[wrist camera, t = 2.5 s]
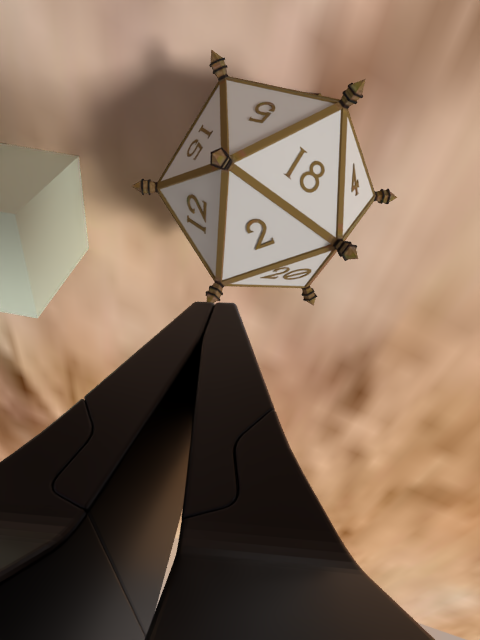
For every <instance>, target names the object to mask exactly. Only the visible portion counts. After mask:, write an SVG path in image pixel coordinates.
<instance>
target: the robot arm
mask: <svg viewBox="0 0 480 640" xmlns="http://www.w3.org/2000/svg"><path fill="white" fill-rule="evenodd" d="M84 399H85V400H84ZM84 399H81V400H80V401H78V402H77V403H76V404H75V405H74V406H73V407H71V408H70V409H69V410H68V411H67V412H66V413H64V414H63V415H62V416H61V417H59V418H58V419H57V420H56V421H55V422H53V423H52V424H51V425H50V426H48V427H47V428H46V429H45V430H43V431H42V432H41V433H39V434H38V435H37V436H35V437H34V438H33V439H31V440H30V441H29V442H27V443H26V444H25V445H23V446H22V447H21V448H19V449H18V450H17V451H15V452H14V453H12V454H11V455H10V456H8V457H7V458H5V459H4V460H3V461H1V462H0V640H435V639H434V638H433V637H432V636H431V635H429V634H428V633H427V632H426V631H425V630H424V629H423V628H422V627H421V626H420V625H419V624H418V623H417V622H416V621H415V620H414V619H413V618H412V617H411V616H410V615H409V614H407V613H406V612H405V611H404V610H403V609H402V608H401V607H400V606H399V605H398V604H397V603H396V602H395V601H394V600H393V599H392V598H391V597H390V596H388V595H387V594H386V593H385V592H384V591H383V590H382V589H381V588H380V587H379V586H378V585H377V584H376V583H375V582H374V581H373V580H372V579H371V578H370V577H369V576H368V575H367V574H366V573H365V572H364V571H363V570H362V569H361V568H360V567H359V565H358V564H357V563H356V561H355V560H354V559H353V557H352V556H351V555H350V553H349V552H348V550H347V548H346V547H345V545H344V544H343V542H342V541H341V539H340V537H339V536H338V534H337V532H336V530H335V529H334V527H333V525H332V523H331V522H330V520H329V518H328V516H327V514H326V513H325V511H324V509H323V507H322V506H321V504H320V502H319V500H318V498H317V497H316V495H315V493H314V491H313V490H312V488H311V486H310V484H309V482H308V481H307V479H306V477H305V475H304V474H303V472H302V470H301V468H300V466H299V464H298V462H297V460H296V458H295V456H294V454H293V452H292V450H291V448H290V446H289V444H288V441H287V439H286V436H285V434H284V432H283V429H282V427H281V424H280V422H279V419H278V416H277V414H276V412H275V409H274V406H273V403H272V401H271V398H270V395H269V393H268V390H267V387H266V384H265V382H264V379H263V376H262V374H261V371H260V368H259V365H258V363H257V360H256V357H255V355H254V352H253V349H252V347H251V344H250V341H249V338H248V336H247V333H246V330H245V328H244V325H243V322H242V319H241V317H240V314H239V311H238V309H237V306H236V304H234V303H216V304H214V303H212V302H195V303H193V304H192V305H191V306H189V307H188V308H187V309H186V310H185V311H184V312H182V313H181V314H180V315H179V316H178V317H177V318H175V319H174V320H173V321H172V322H171V323H170V324H168V325H167V326H166V327H165V328H164V329H163V330H161V331H160V332H159V333H158V334H157V335H156V336H154V337H153V338H152V339H151V340H150V341H149V342H147V343H146V344H145V345H144V346H143V347H142V348H140V349H139V350H138V351H137V352H136V353H135V354H134V355H132V356H131V357H130V358H129V359H128V360H127V361H125V362H124V363H123V364H122V365H121V366H120V367H118V368H117V369H116V370H115V371H114V372H113V373H111V374H110V375H109V376H108V377H107V378H106V379H104V380H103V381H102V382H101V383H100V384H99V385H97V386H96V387H95V388H94V389H93V390H92V391H90V392H89V393H88V394H87V395H86V396H85V397H84ZM182 509H183V511H182ZM181 512H182V523H181V529H180V536H179V542H178V548H177V553H176V556H175V559H174V563H173V565H172V568H171V571H170V573H169V576H168V579H167V581H166V584H165V587H164V590H163V592H162V595H161V597H160V600H159V603H158V605H157V601H158V598H159V594H160V590H161V587H162V583H163V579H164V576H165V572H166V568H167V564H168V561H169V557H170V553H171V549H172V545H173V542H174V538H175V535H176V531H177V527H178V523H179V520H180V516H181ZM156 605H157V608H156ZM155 609H156V611H155Z"/></svg>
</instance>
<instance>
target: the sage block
mask: <svg viewBox="0 0 480 640" xmlns="http://www.w3.org/2000/svg"><path fill="white" fill-rule="evenodd" d="M88 249H89V245H88V236H87V227H86V218H85V208H84V199H83V190H82V180H81V171H80V162H79V156H75V155H69V154H63V153H57V152H51V151H45V150H39V149H33V148H27V147H21V146H15V145H9V144H3V143H0V312H4V313H10V314H16V315H22V316H27V317H33V318H38V317H39V316H40V314H41V313H42V312H43V310H44V309H45V308H46V306H47V305H48V303H49V302H50V301H51V299H52V298H53V297H54V295H55V294H56V293H57V291H58V290H59V288H60V287H61V286H62V284H63V283H64V282H65V280H66V279H67V277H68V276H69V275H70V273H71V272H72V271H73V269H74V268H75V267H76V265H77V264H78V262H79V261H80V260H81V258H82V257H83V256H84V254H85V253H86V252H87V250H88Z"/></svg>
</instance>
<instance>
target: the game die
mask: <svg viewBox="0 0 480 640" xmlns="http://www.w3.org/2000/svg"><path fill="white" fill-rule="evenodd" d="M224 60H225V58H222V57H221V56H219V55H218V54H217V53H215V52H214V51H213V50H211V64H210V67H212V69H213V74H215V75H216V76H217V77H218V81H219V82H218V83H217V85H216V87H215V88H214V90H213V91H212V93H211V95H210V96H209V98H208V100H207V101H206V103H205V105H204V106H203V108H202V110H201V111H200V113H199V115H198V116H197V118H196V120H195V121H194V123H193V125H192V126H191V128H190V130H189V131H188V133H187V134H186V136H185V138H184V139H183V141H182V143H181V144H180V146H179V148H178V149H177V151H176V153H175V154H174V156H173V158H172V159H171V161H170V163H169V164H168V166H167V168H166V169H165V171H164V173H163V174H162V176H161V177H160V179H159V181H158V182H156V183H155V182H152V181H151V180H148V181H146V180H144V179H142V180H141V181H140V182H138V183H136V184H134V185H132V187H134V188H135V189H137V190H138V191H140V192H141V193H142V195H144V193H149V195H150V194H151V193H153V192H158V194H159V195H160V197H161V198H162V200H163V201H164V203H165V205H166V206H167V208H168V209H169V211H170V212H171V214H172V216H173V217H174V219H175V220H176V222H177V223H178V225H179V227H180V228H181V230H182V231H183V233H184V234H185V236H186V238H187V239H188V241H189V242H190V244H191V245H192V247H193V249H194V250H195V252H196V253H197V255H198V256H199V258H200V259H201V261H202V263H203V264H204V266H205V267H206V269H207V270H208V272H209V274H210V275H211V277H212V278H213V280H214V281H215V283H214V284H213V285H212V286H210V287H209V291H206V296H207V302H212V303H214V302H216V301H220V299H219V298H220V296H221V295H223V293H222V288H223V287H224V286H240V287H282V288H302V290H303V293H302V296H304V299H303V300H304V301H307V302H309V303H310V304H312V305H314V302H315V298H316V297H317V296H316V294H315V293H314V290H313V288H311V287H310V284H311V283H312V282H313V281H314V279H315V278H316V277H317V276H318V274H319V273H320V272H321V271H322V269H323V268H324V267H325V266H326V264H327V263H328V262H329V261H330V259H331V258H332V257H333V256H334V254H335V253H336V252H338V254H339V256H340V257H341V256H343V258H344V260H345V261H346V260H348V259H358V256H357V251H356V248H357V246H356V245H352V244H351V242H348V241H345V240H346V239H347V237H348V236H349V234H350V233H351V232H352V230H353V229H354V228H355V226H356V225H357V223H358V222H359V221H360V219H361V218H362V217H363V215H364V214H365V213H366V211H367V210H368V208H369V207H370V206H371V204H372V203H373V202H374V201H378V203H381V204H382V203H385V204H388V203H389V202H390V201H392V200H394V199H395V198H397V197H396V196H395V195H394V194H392V193H391V192H390V191H389V189H387V190H383V189H381V190H380V191H378V192H375V191H374V188H373V185H372V182H371V179H370V176H369V173H368V170H367V167H366V164H365V161H364V158H363V154H362V151H361V148H360V145H359V142H358V139H357V136H356V133H355V130H354V127H353V124H352V121H351V117H350V114H349V111H348V108H349V106H351V105H352V104H357V100H358V99H359V98H363V95H362V92H363V87H364V82H365V79H364V80H361V81H359V82H356V83H354V84H353V83H351V84H349V85H348V89H347V90H345V91H344V92H343V96H342V99H341V100H339V99H334V98H329V97H324V96H321V93H320V94H318V95H317V94H316V95H315V94H310V93H305V92H300V91H296V90H291V89H286V88H281V87H277V86H272V85H267V84H262V83H257V82H253V81H248V80H243V79H238V78H233V77H229V76H228V75H227V71H226V68H227V65H226V66H225V63H224Z"/></svg>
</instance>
